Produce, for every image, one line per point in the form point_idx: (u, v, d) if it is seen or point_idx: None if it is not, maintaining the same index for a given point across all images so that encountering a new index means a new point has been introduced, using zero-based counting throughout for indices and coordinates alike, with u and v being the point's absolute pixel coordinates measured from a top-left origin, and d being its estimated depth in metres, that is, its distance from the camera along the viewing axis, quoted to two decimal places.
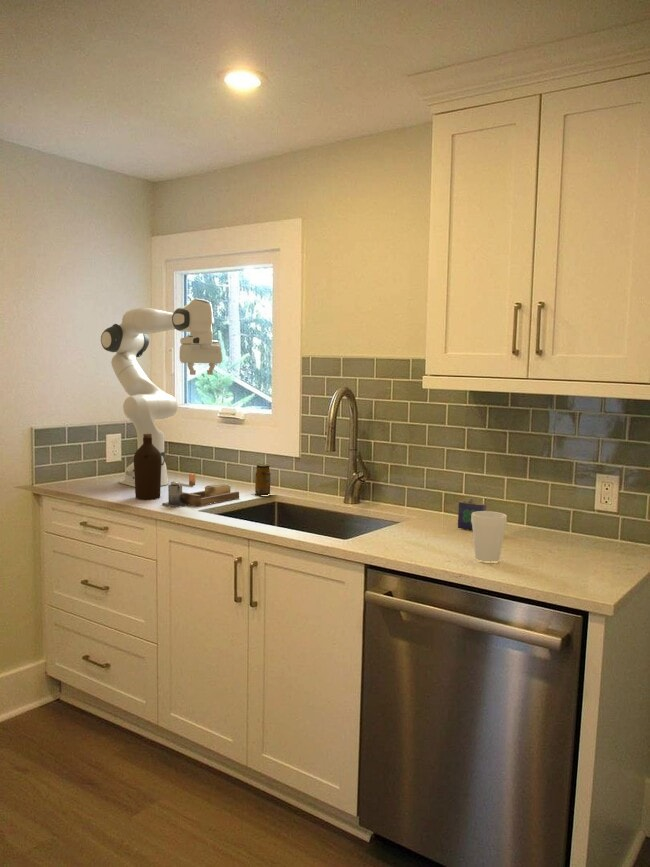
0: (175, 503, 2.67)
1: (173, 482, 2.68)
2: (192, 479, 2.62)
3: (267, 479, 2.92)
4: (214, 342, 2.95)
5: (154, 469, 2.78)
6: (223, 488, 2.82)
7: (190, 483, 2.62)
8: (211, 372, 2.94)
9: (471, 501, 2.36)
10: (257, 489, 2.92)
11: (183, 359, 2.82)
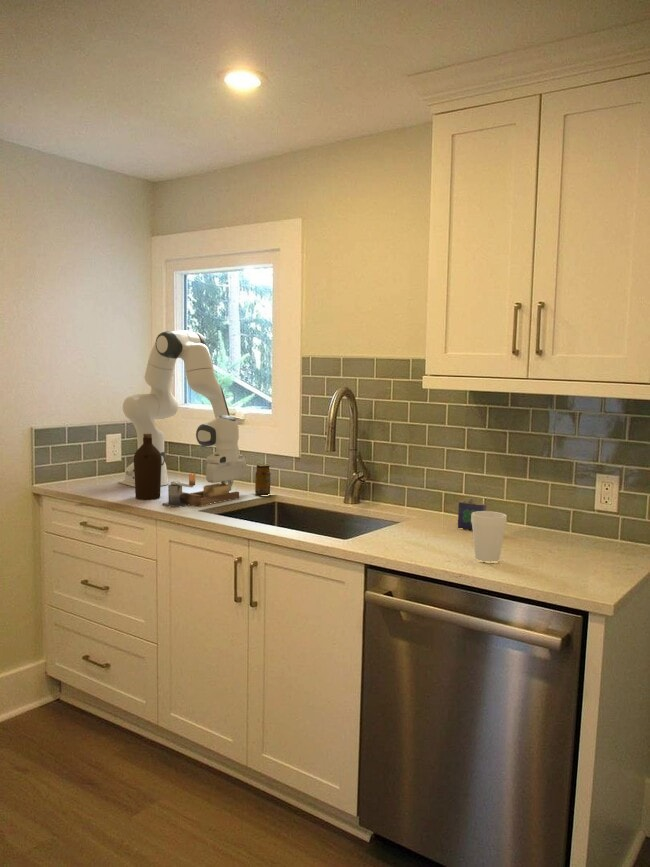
0: (175, 503, 2.67)
1: (173, 482, 2.68)
2: (192, 479, 2.62)
3: (267, 479, 2.92)
4: (239, 457, 2.92)
5: (154, 469, 2.78)
6: (222, 488, 2.81)
7: (190, 483, 2.62)
8: (230, 488, 2.88)
9: (471, 501, 2.36)
10: (257, 489, 2.92)
11: (210, 479, 2.79)
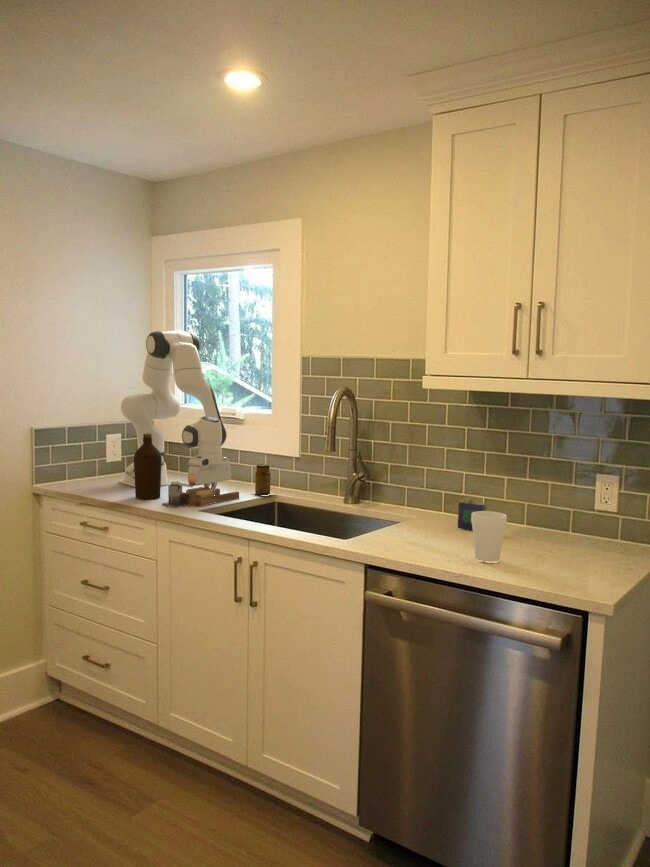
0: (175, 503, 2.67)
1: (173, 482, 2.68)
2: (192, 479, 2.62)
3: (267, 479, 2.92)
4: (223, 459, 2.85)
5: (154, 469, 2.78)
6: (205, 492, 2.74)
7: (190, 483, 2.62)
8: (213, 492, 2.81)
9: (471, 501, 2.36)
10: (257, 489, 2.92)
11: None
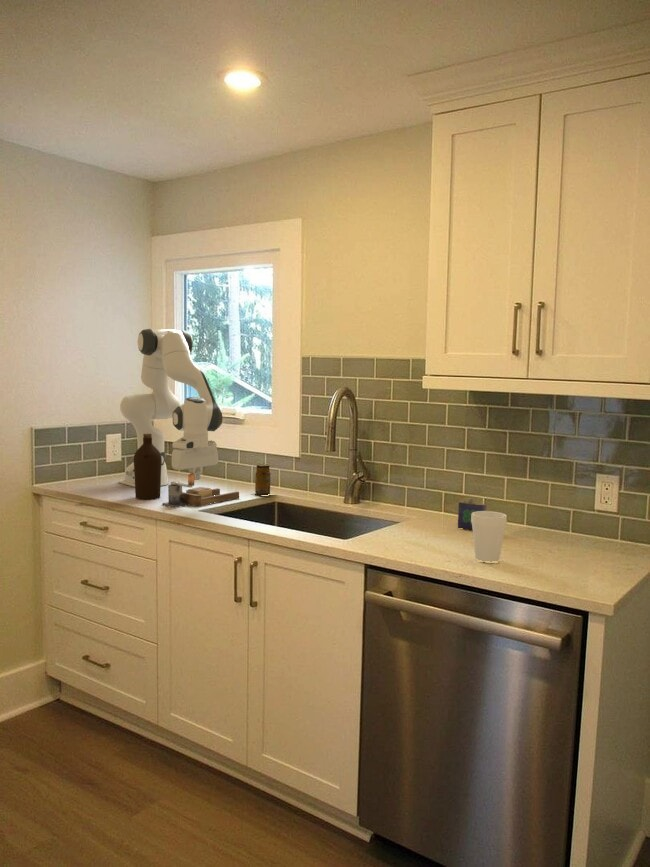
0: (175, 503, 2.67)
1: (173, 482, 2.68)
2: (191, 479, 2.62)
3: (267, 479, 2.92)
4: (210, 442, 2.69)
5: (154, 469, 2.78)
6: (205, 491, 2.74)
7: (189, 483, 2.62)
8: (198, 477, 2.65)
9: (471, 501, 2.36)
10: (257, 489, 2.92)
11: (176, 466, 2.56)
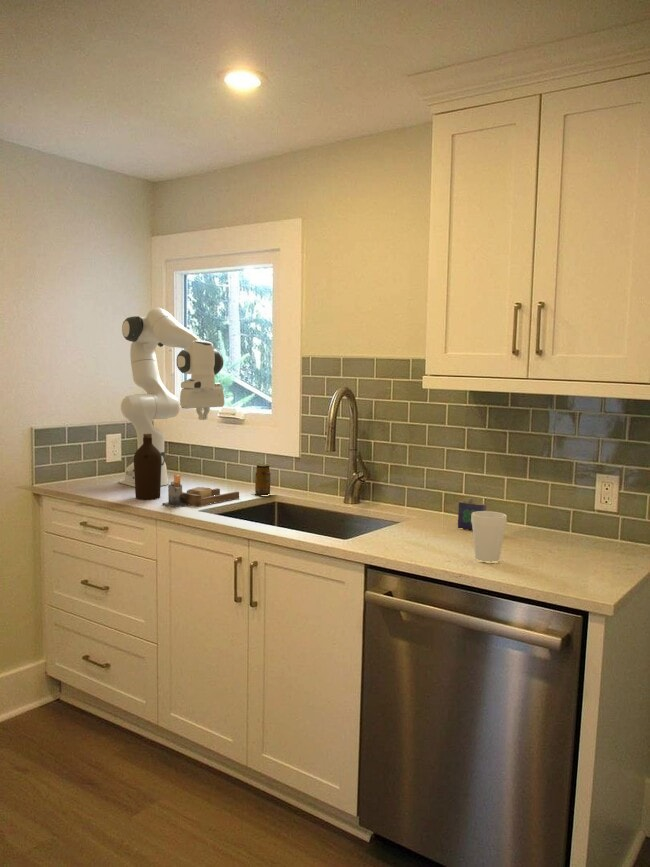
0: (175, 503, 2.67)
1: (172, 482, 2.68)
2: (175, 480, 2.59)
3: (267, 479, 2.92)
4: (216, 385, 2.81)
5: (154, 469, 2.78)
6: (206, 491, 2.75)
7: (174, 484, 2.59)
8: (205, 417, 2.77)
9: (471, 501, 2.36)
10: (257, 489, 2.92)
11: (184, 405, 2.69)
